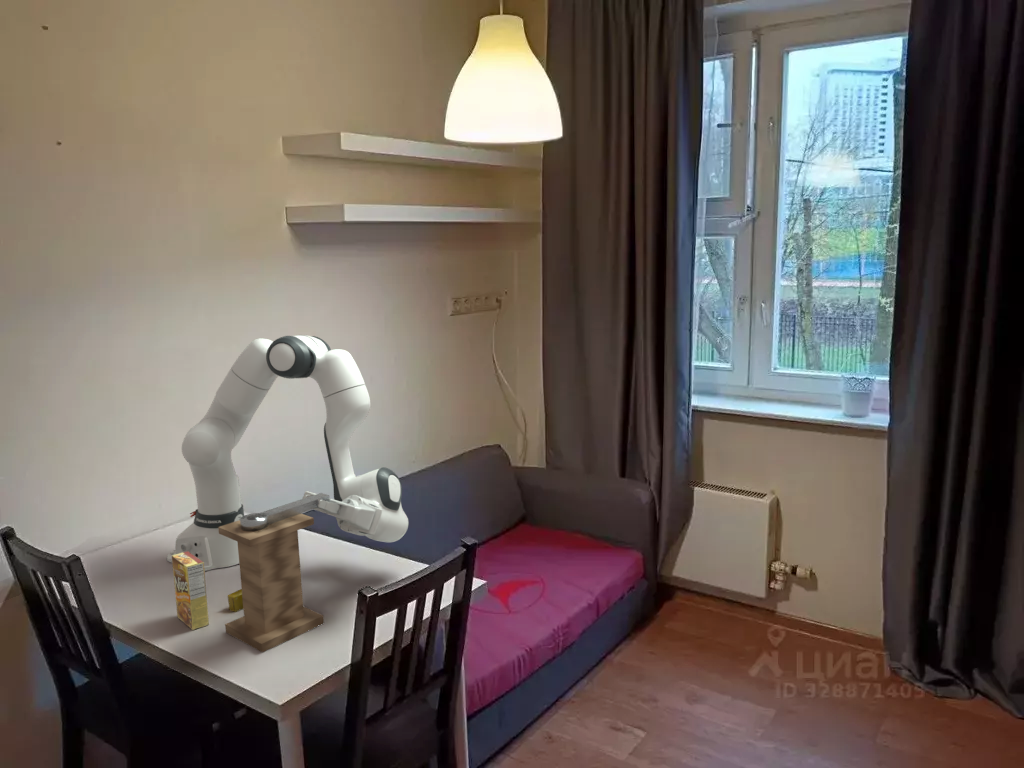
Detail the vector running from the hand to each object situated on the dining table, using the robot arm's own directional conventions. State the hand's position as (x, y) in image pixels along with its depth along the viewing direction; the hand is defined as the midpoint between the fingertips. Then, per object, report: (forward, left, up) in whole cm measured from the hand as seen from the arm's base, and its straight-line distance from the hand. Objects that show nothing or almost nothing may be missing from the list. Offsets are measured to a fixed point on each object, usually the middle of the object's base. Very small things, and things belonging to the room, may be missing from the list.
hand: (312, 500), depth 191 cm
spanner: (-2, -7, -1) cm, 7 cm away
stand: (-4, -11, -26) cm, 29 cm away
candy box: (-24, -14, -27) cm, 39 cm away
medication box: (-18, -2, -27) cm, 32 cm away
